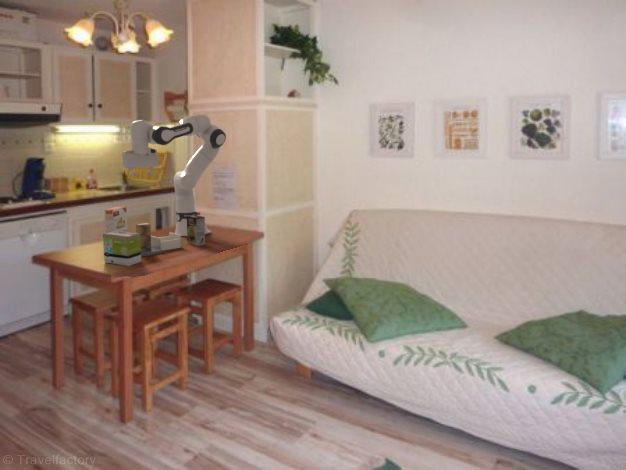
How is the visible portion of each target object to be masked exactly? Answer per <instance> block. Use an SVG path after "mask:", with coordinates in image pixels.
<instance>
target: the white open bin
mask: <svg viewBox="0 0 626 470" xmlns="http://www.w3.org/2000/svg"><path fill="white" fill-rule="evenodd" d="M151 247H154V248H157V249H160V250H163V252H164V251H169V250H175V249H182V236H181V235H178V234H175V232H171V231H170V232H169V234H168V236H167V235H166V236H159V237H158V236H154V235H151Z"/></svg>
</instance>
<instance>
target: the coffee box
mask: <svg viewBox="0 0 626 470" xmlns="http://www.w3.org/2000/svg"><path fill="white" fill-rule="evenodd" d="M205 223H206V220H205V216H201V215H191V216H187V236H186V237H187V238H186V241H187V244H189V245H192V246H195V247H199V246H204V245H206V234H205Z"/></svg>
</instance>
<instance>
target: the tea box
mask: <svg viewBox="0 0 626 470" xmlns="http://www.w3.org/2000/svg"><path fill="white" fill-rule="evenodd" d="M102 241H103V259H104V263H106V264H115V265H121V266H128V267H129V266H133V265H135V264H138V263H141V262H142V257H141V241H140V233H136V232H131V231H130V232H129V231H127V232H123V231H113V232H110V233H106V232H105V233H103V234H102Z"/></svg>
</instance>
